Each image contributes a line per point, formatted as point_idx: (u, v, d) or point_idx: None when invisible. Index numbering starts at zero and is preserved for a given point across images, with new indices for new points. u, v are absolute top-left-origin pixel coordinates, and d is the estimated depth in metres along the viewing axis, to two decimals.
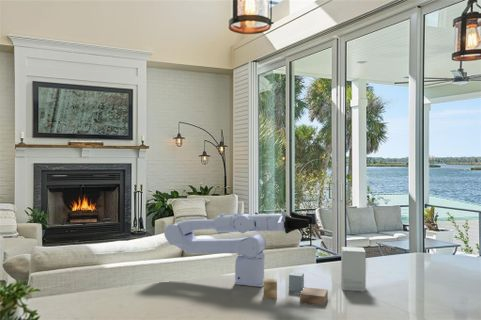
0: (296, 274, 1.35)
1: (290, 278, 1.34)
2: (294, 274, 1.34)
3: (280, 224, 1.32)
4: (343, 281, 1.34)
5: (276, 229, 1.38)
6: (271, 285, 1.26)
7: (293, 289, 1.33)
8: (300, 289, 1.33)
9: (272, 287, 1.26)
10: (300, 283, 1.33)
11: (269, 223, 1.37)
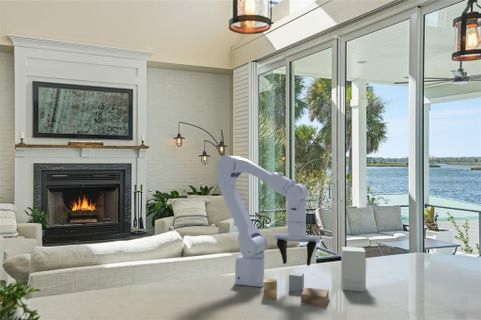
0: (296, 274, 1.35)
1: (290, 278, 1.34)
2: (294, 274, 1.35)
3: None
4: (343, 281, 1.34)
5: None
6: (271, 285, 1.26)
7: (293, 289, 1.33)
8: (300, 289, 1.33)
9: (272, 287, 1.26)
10: (300, 283, 1.33)
11: None
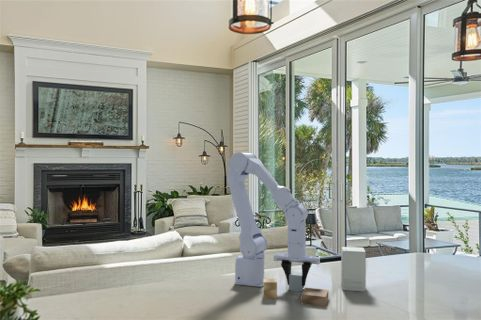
0: (296, 274, 1.35)
1: (290, 278, 1.34)
2: (294, 274, 1.35)
3: None
4: (343, 281, 1.34)
5: None
6: (271, 285, 1.26)
7: (293, 289, 1.33)
8: (300, 289, 1.33)
9: (272, 287, 1.26)
10: (300, 283, 1.33)
11: None
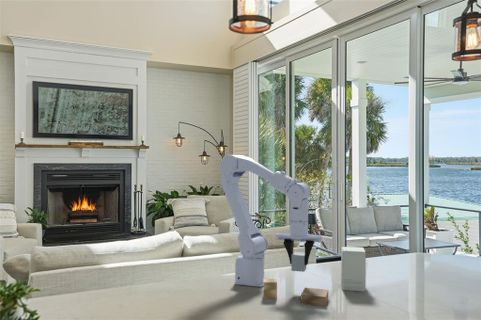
0: (299, 254, 1.33)
1: (293, 258, 1.32)
2: (296, 254, 1.33)
3: None
4: (343, 281, 1.34)
5: None
6: (271, 285, 1.26)
7: (296, 269, 1.32)
8: (303, 269, 1.31)
9: (272, 287, 1.26)
10: (303, 263, 1.31)
11: None
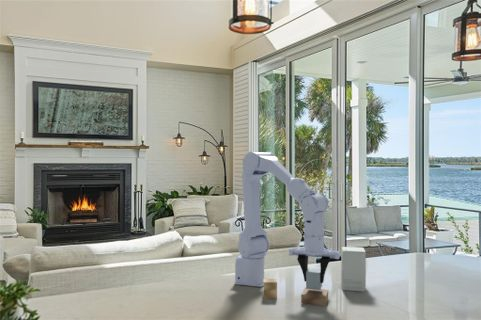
0: (314, 271, 1.24)
1: (307, 275, 1.23)
2: (312, 271, 1.24)
3: None
4: (343, 281, 1.34)
5: None
6: (271, 285, 1.26)
7: (311, 287, 1.23)
8: (318, 287, 1.22)
9: (272, 287, 1.26)
10: (318, 280, 1.22)
11: None
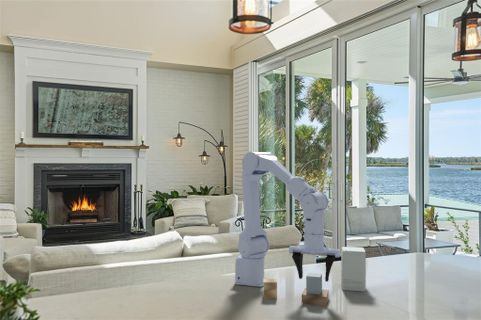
0: (314, 275, 1.24)
1: (307, 279, 1.23)
2: (312, 275, 1.23)
3: None
4: (343, 281, 1.34)
5: None
6: (271, 285, 1.26)
7: (311, 291, 1.22)
8: (319, 291, 1.22)
9: (272, 287, 1.26)
10: (319, 285, 1.22)
11: None
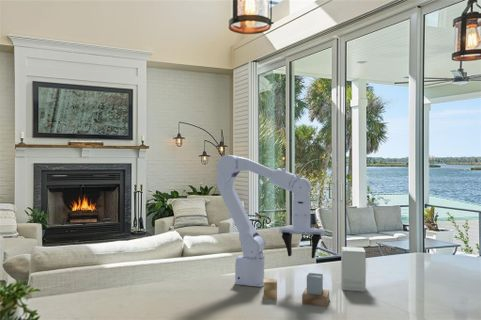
0: (314, 275, 1.23)
1: (308, 280, 1.23)
2: (312, 275, 1.23)
3: None
4: (343, 281, 1.34)
5: None
6: (271, 285, 1.26)
7: (311, 292, 1.22)
8: (319, 292, 1.22)
9: (272, 287, 1.26)
10: (319, 285, 1.22)
11: None
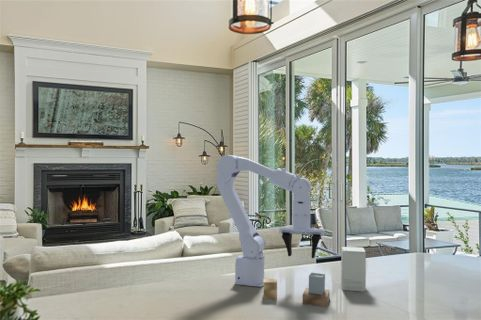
0: (317, 275, 1.23)
1: (310, 279, 1.23)
2: (314, 275, 1.23)
3: None
4: (343, 281, 1.34)
5: None
6: (271, 285, 1.26)
7: (313, 291, 1.22)
8: (321, 292, 1.21)
9: (272, 287, 1.26)
10: (321, 285, 1.21)
11: None
